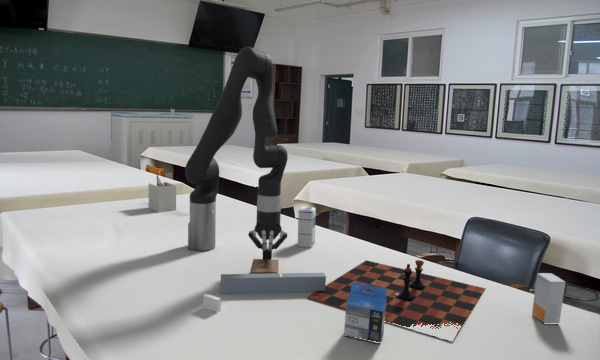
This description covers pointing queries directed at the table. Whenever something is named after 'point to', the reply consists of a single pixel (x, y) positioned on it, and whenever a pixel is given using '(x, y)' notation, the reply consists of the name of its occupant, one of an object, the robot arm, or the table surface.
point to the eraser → (211, 302)
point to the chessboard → (407, 294)
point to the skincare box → (548, 298)
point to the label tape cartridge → (365, 312)
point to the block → (264, 266)
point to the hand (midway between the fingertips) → (267, 260)
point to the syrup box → (306, 226)
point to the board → (272, 283)
